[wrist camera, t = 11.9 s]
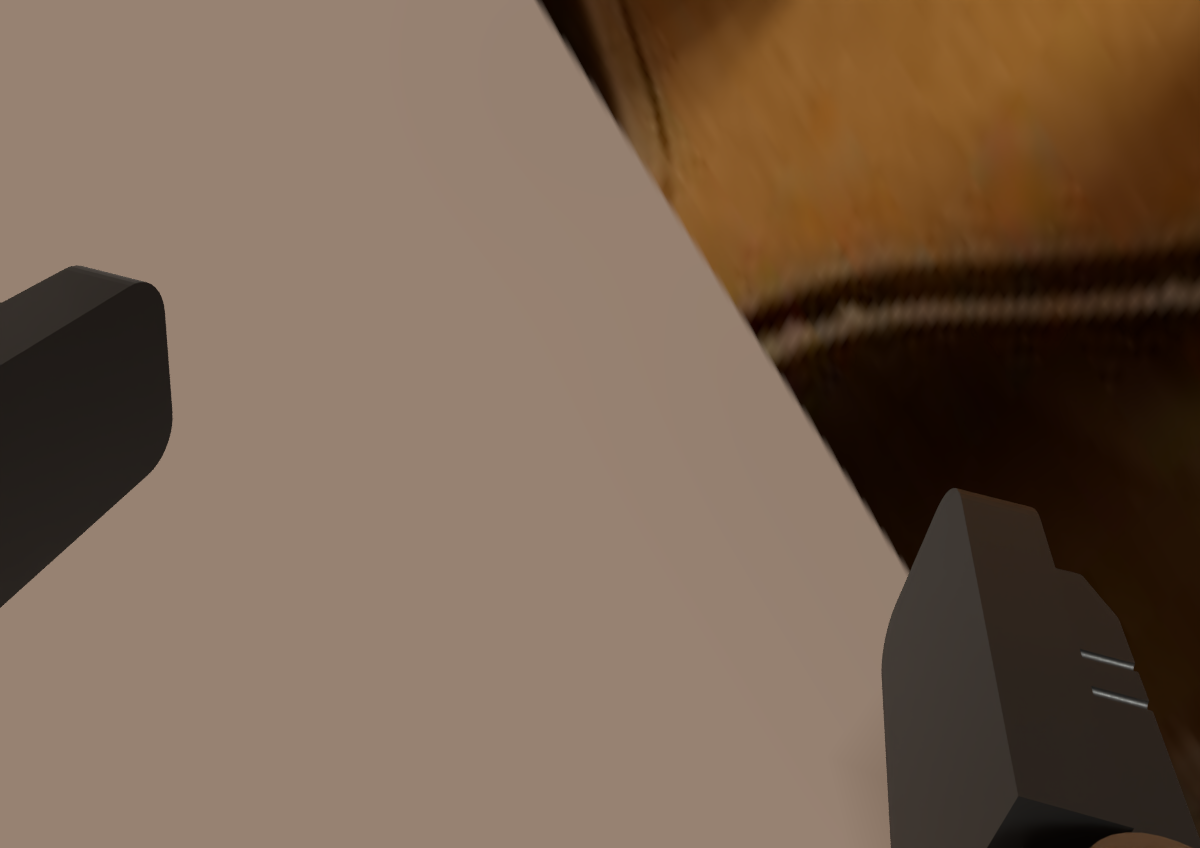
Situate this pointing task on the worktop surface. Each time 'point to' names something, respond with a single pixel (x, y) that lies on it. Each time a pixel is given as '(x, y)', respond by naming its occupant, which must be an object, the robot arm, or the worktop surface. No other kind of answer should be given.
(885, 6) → the worktop surface
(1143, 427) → the worktop surface
